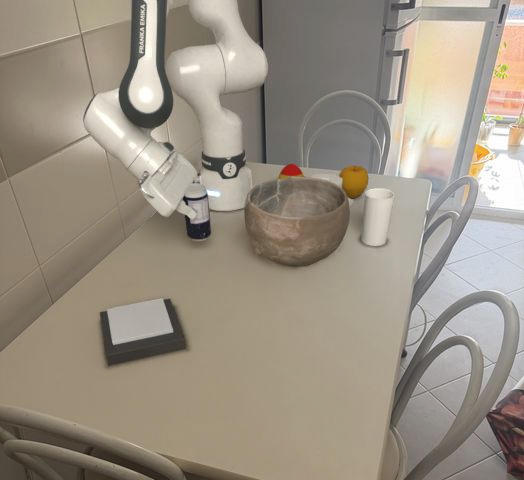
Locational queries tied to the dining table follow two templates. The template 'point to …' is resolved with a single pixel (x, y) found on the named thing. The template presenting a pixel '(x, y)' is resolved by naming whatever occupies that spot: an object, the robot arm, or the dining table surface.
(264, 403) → the dining table surface
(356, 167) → the apple
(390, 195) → the mug
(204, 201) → the beverage can
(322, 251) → the bowl
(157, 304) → the scale
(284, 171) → the decorative egg
